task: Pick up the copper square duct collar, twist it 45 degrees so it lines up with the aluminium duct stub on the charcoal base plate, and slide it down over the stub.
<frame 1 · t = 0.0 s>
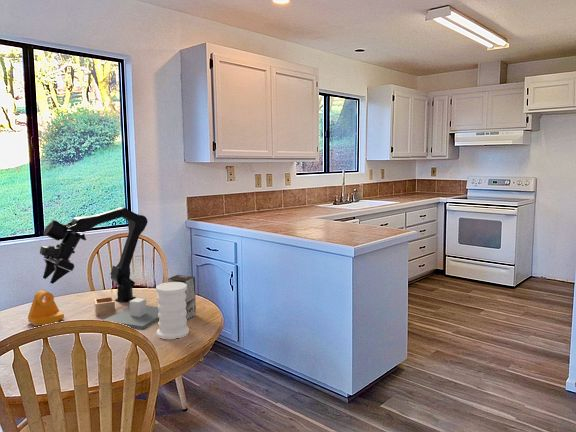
hand: (47, 280, 178), 15 cm above the table, tool tilted 35°, fingers open, 9 cm apart
coffee box: (182, 316, 181), on the table
bracket: (47, 322, 174), on the table
collar: (104, 311, 185), on the table
decorative container: (173, 334, 164), on the table
duct base: (138, 317, 180), on the table
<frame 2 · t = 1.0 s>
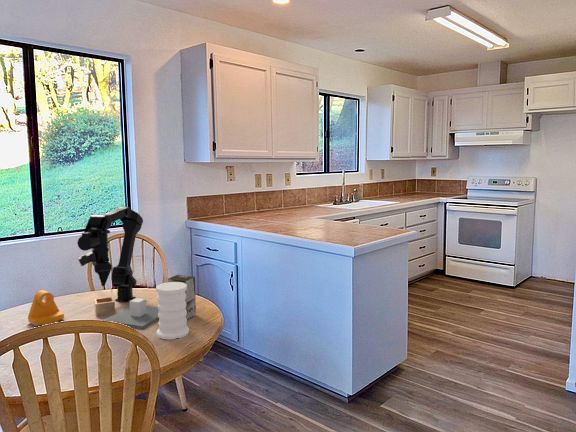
hand: (102, 282, 184), 12 cm above the table, tool pointing down, fingers open, 9 cm apart
nothing on the table moved.
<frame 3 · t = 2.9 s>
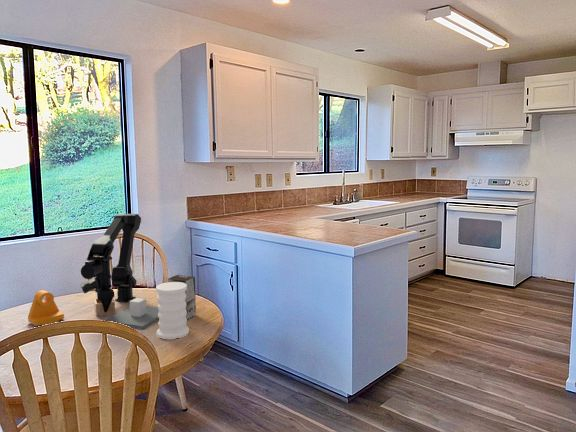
hand: (104, 309, 185), 1 cm above the table, tool pointing down, fingers closed on collar, 7 cm apart
collar: (104, 311, 185), on the table, touching gripper
everything else where it was.
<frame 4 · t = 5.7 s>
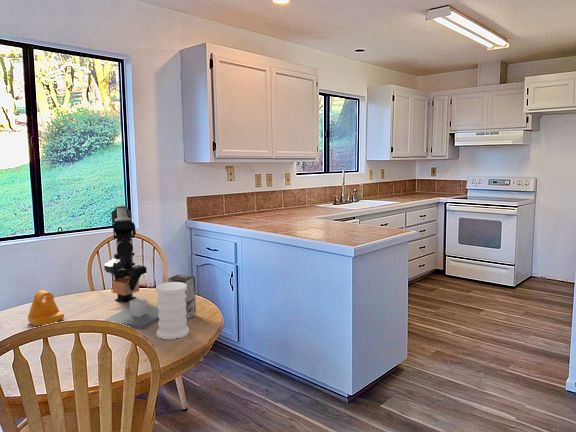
hand: (126, 289, 179), 11 cm above the table, tool pointing down, fingers closed on collar, 7 cm apart
collar: (126, 291, 180), point 10 cm above the table, touching gripper
everything else where it was.
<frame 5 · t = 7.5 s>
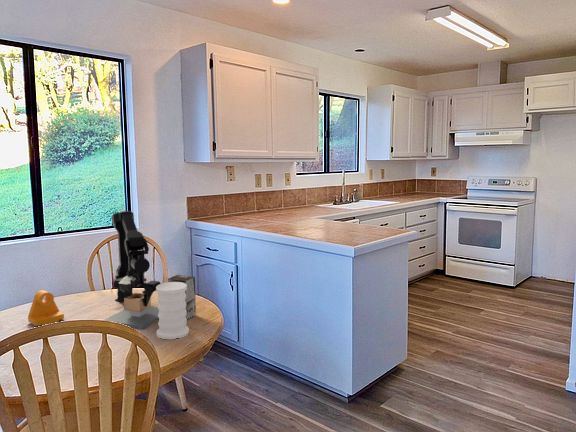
hand: (137, 305, 179), 5 cm above the table, tool pointing down, fingers closed on collar, 7 cm apart
collar: (137, 308, 179), point 4 cm above the table, touching gripper
everything else where it was.
when the fingers open (4 cm above the table, at t = 8.8 s): collar drops 1 cm, resting on duct base.
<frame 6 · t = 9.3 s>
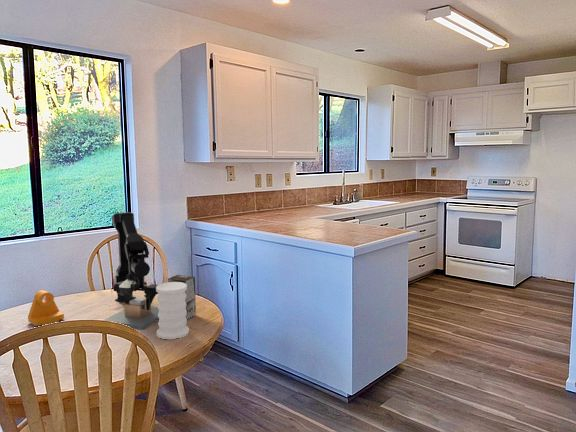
hand: (138, 308, 179), 4 cm above the table, tool pointing down, fingers open, 9 cm apart
collar: (138, 314, 179), point 1 cm above the table, touching duct base
everything else where it was.
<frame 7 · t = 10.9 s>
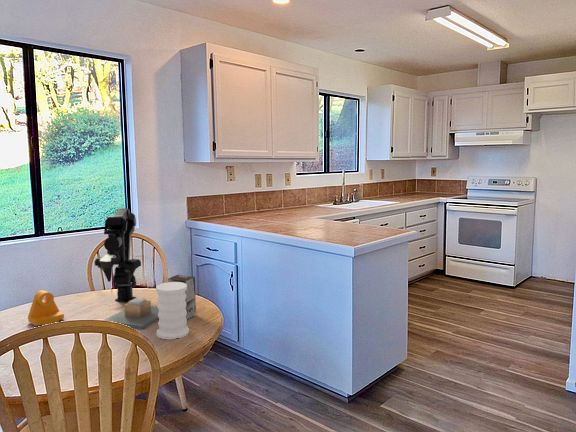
hand: (118, 282, 186), 12 cm above the table, tool pointing down, fingers open, 9 cm apart
nothing on the table moved.
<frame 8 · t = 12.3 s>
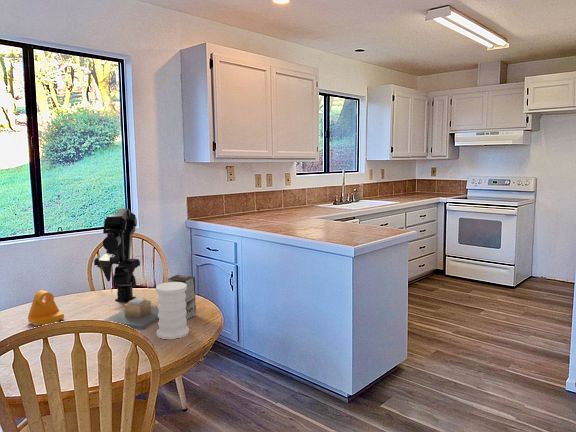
hand: (118, 282, 186), 12 cm above the table, tool pointing down, fingers open, 9 cm apart
nothing on the table moved.
at the end: collar 0.1 cm off-centre on the duct base, point 1.2 cm above the duct base's base; collar tilted 0°; the gripper is holding nothing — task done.
